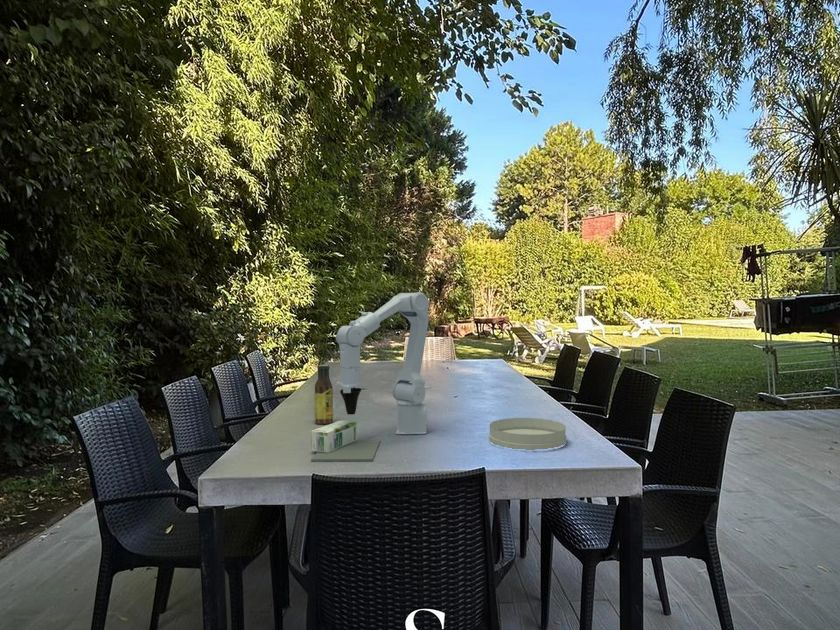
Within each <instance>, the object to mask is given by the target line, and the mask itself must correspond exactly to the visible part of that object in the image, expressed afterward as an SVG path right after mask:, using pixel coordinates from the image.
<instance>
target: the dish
mask: <svg viewBox="0 0 840 630" xmlns="http://www.w3.org/2000/svg"><path fill="white" fill-rule="evenodd" d="M566 430H567V429H566V425H564V424H563V423H561V422H559V421H556V420H551V419H545V418H538V417H537V418H536V417H507V418H501V419H496V420H494V421H492V422H490V424H489V434H488V441H489V440H490V442H492V443H493V444H495V445H499V446H502V447H507V448H512V449H526V450H535V449H548V448H554V447H559V446H561V445H564V444H565V443H566V444H567V435H566ZM490 442H489V443H490Z"/></svg>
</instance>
